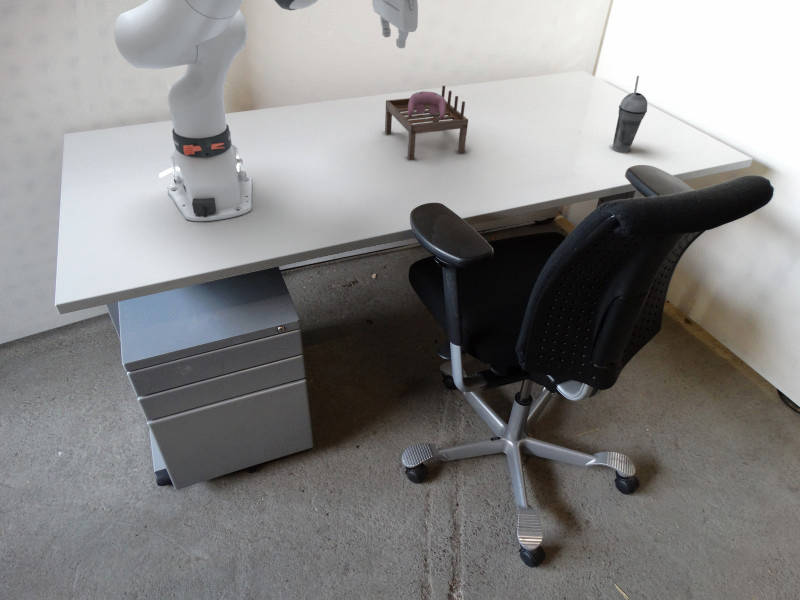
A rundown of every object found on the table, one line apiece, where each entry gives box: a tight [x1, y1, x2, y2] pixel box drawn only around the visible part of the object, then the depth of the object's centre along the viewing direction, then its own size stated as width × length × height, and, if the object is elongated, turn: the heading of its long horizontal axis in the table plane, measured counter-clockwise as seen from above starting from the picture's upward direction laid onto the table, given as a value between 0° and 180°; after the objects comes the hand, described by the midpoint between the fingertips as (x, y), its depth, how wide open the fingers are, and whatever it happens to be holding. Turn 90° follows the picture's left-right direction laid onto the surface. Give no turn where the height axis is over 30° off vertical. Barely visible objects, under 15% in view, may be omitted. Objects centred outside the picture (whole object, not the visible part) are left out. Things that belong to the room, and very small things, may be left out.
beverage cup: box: [611, 75, 648, 154], centre depth 157 cm, size 7×7×20 cm
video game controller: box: [407, 90, 446, 121], centre depth 154 cm, size 10×5×7 cm, turn 85°
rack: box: [384, 85, 469, 161], centre depth 157 cm, size 18×16×13 cm
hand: (393, 41), depth 144 cm, fingers open, 8 cm apart
